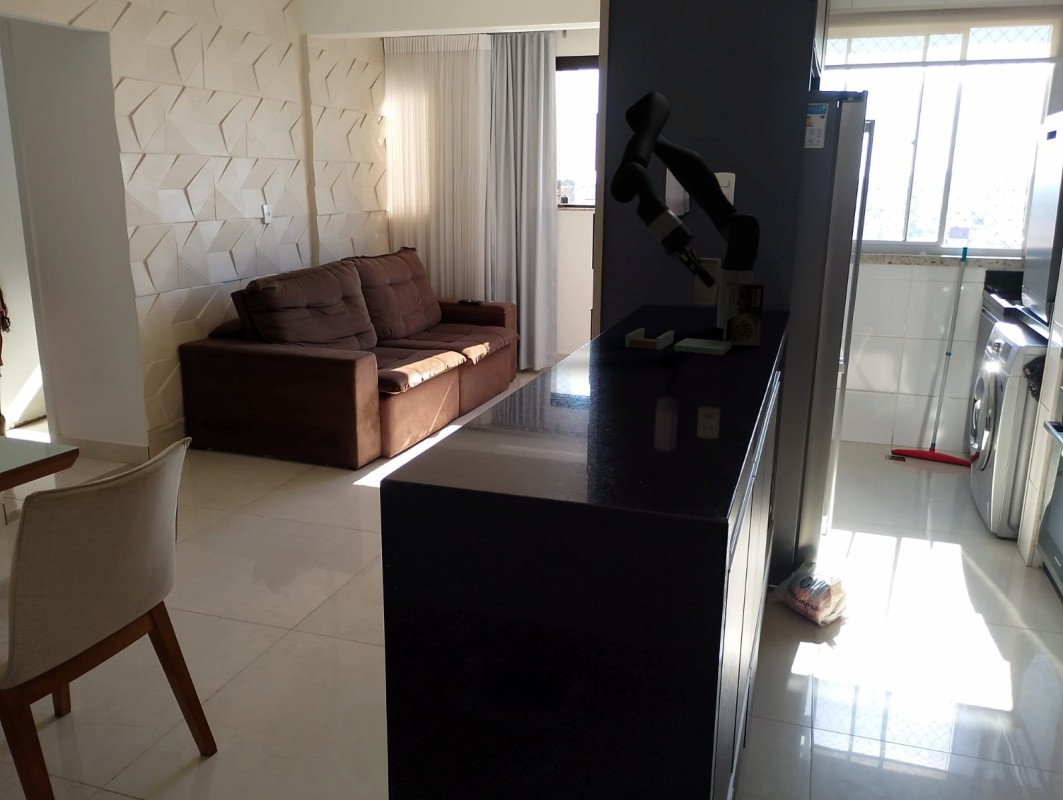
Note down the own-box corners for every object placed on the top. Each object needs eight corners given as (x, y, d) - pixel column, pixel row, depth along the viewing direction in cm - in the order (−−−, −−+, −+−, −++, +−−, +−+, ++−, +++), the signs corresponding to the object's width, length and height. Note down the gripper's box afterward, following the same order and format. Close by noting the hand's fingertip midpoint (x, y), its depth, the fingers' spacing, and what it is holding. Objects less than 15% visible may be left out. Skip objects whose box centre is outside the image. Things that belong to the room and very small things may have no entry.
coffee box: (756, 342, 232) (761, 282, 228) (760, 346, 226) (765, 284, 222) (721, 341, 233) (726, 280, 229) (724, 345, 227) (729, 283, 223)
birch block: (697, 301, 220) (701, 257, 217) (717, 302, 218) (720, 258, 215) (693, 303, 216) (696, 258, 213) (713, 305, 214) (717, 260, 211)
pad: (685, 343, 227) (685, 338, 227) (731, 347, 222) (731, 342, 222) (674, 350, 216) (674, 345, 216) (722, 355, 212) (722, 349, 211)
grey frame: (640, 338, 233) (641, 327, 232) (673, 341, 229) (673, 330, 229) (625, 346, 220) (625, 335, 219) (659, 350, 217) (660, 338, 216)
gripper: (666, 241, 224) (709, 291, 223) (652, 243, 212) (696, 296, 210) (688, 221, 221) (731, 271, 220) (674, 222, 208) (720, 276, 207)
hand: (714, 283), depth 215 cm, fingers closed on birch block, 5 cm apart
